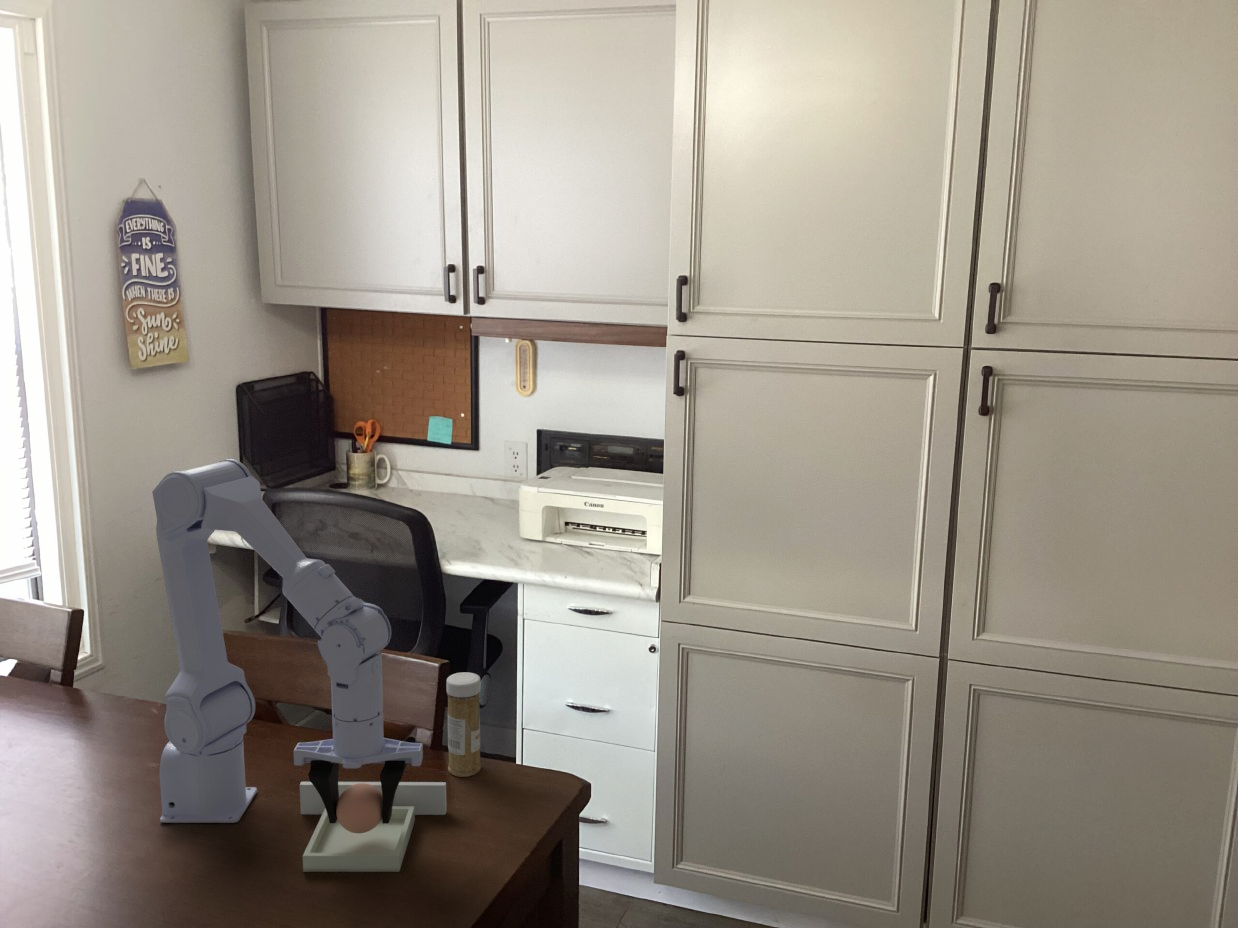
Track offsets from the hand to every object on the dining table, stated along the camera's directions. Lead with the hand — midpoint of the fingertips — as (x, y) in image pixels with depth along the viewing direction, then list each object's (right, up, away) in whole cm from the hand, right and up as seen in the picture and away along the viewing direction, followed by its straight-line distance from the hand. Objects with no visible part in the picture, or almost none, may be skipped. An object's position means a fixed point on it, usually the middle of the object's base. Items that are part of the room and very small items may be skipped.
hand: (360, 818), depth 121 cm
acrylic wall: (0, -2, +8) cm, 8 cm away
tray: (0, -3, +1) cm, 3 cm away
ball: (0, +1, 0) cm, 1 cm away
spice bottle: (+9, 0, +19) cm, 21 cm away
